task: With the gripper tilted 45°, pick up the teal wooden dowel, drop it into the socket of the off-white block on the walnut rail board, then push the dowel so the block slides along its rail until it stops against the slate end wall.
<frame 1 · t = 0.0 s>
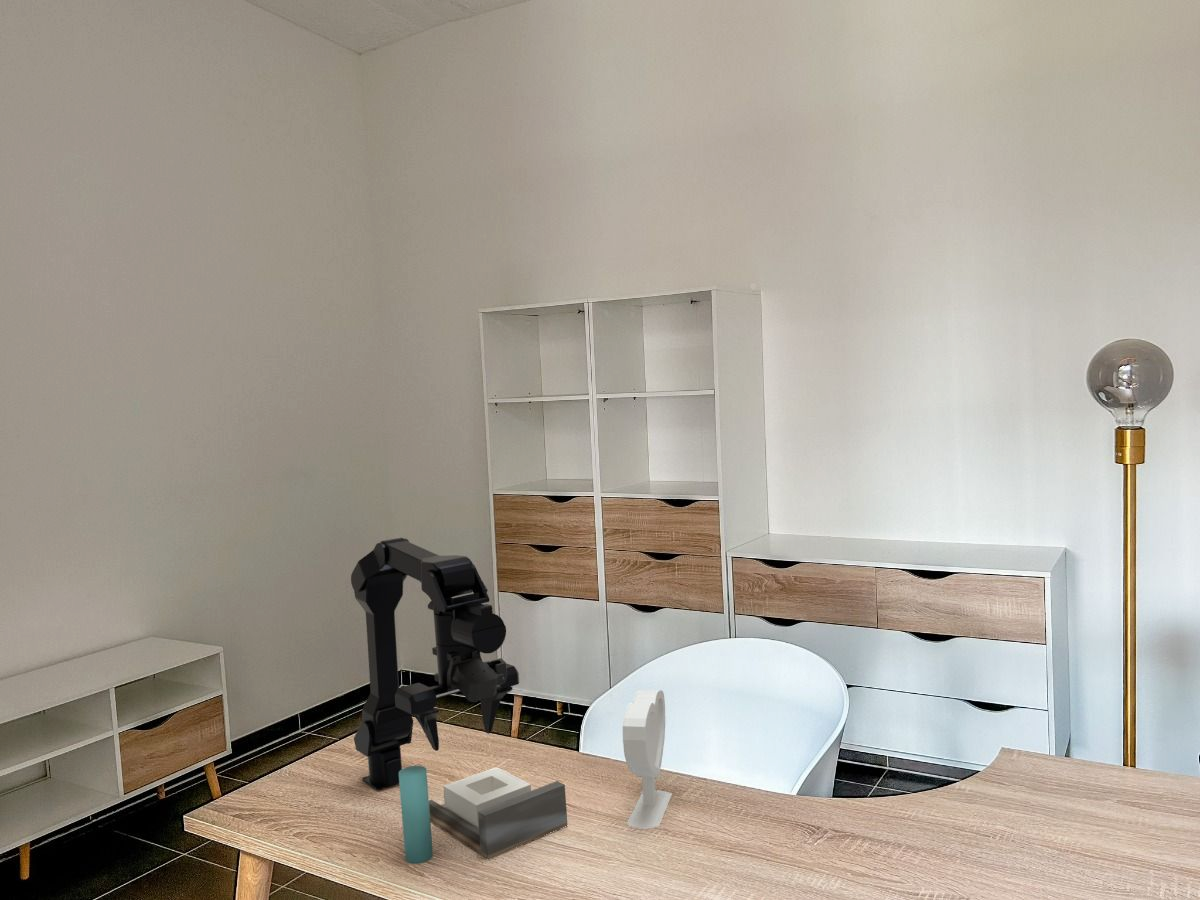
hand: (462, 741, 146), 15 cm above the table, tool pointing down, fingers open, 9 cm apart
dowel: (419, 856, 141), on the table
rail board: (493, 820, 151), on the table
heart sculpture: (650, 809, 152), on the table
socket block: (487, 799, 152), point 3 cm above the table, slide at 0.0 cm
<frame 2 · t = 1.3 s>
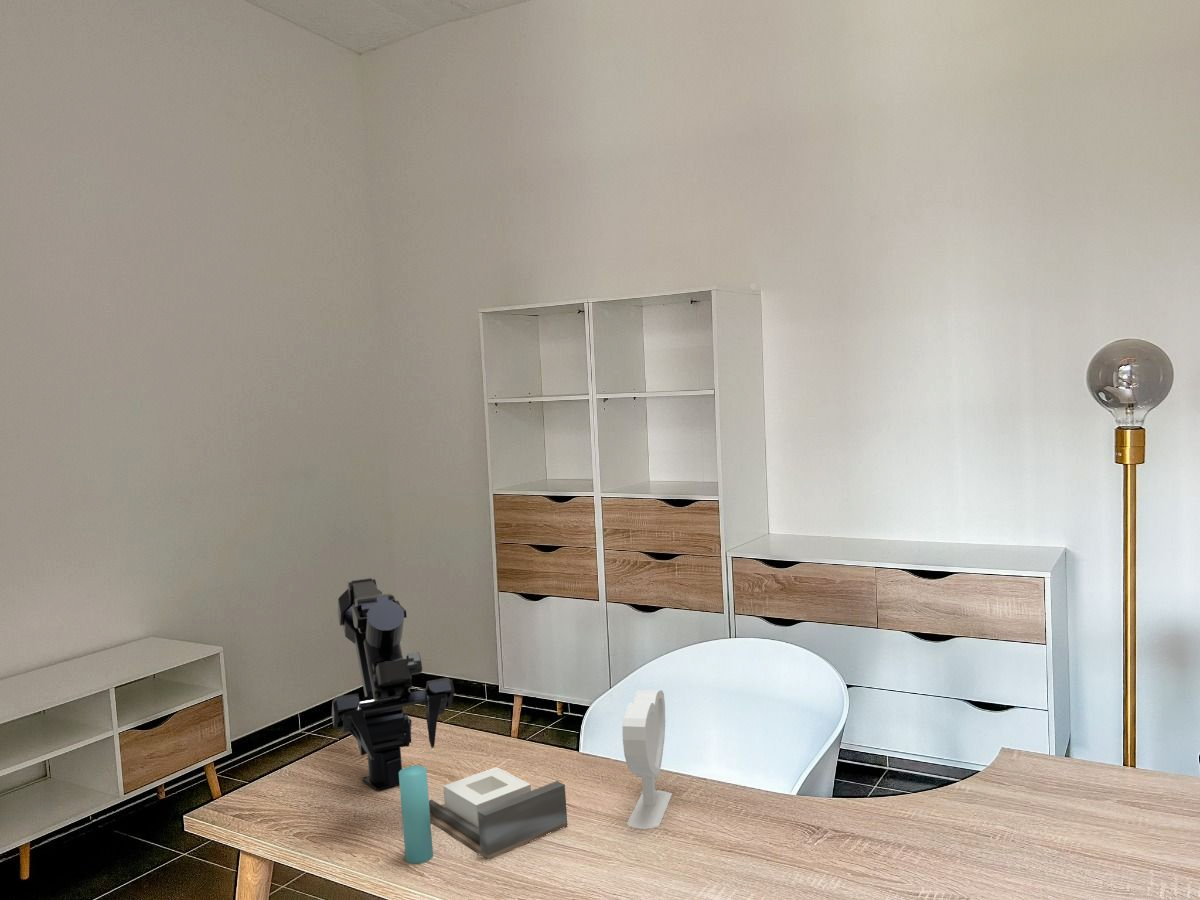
hand: (403, 752, 147), 13 cm above the table, tool tilted 45°, fingers open, 9 cm apart
nothing on the table moved.
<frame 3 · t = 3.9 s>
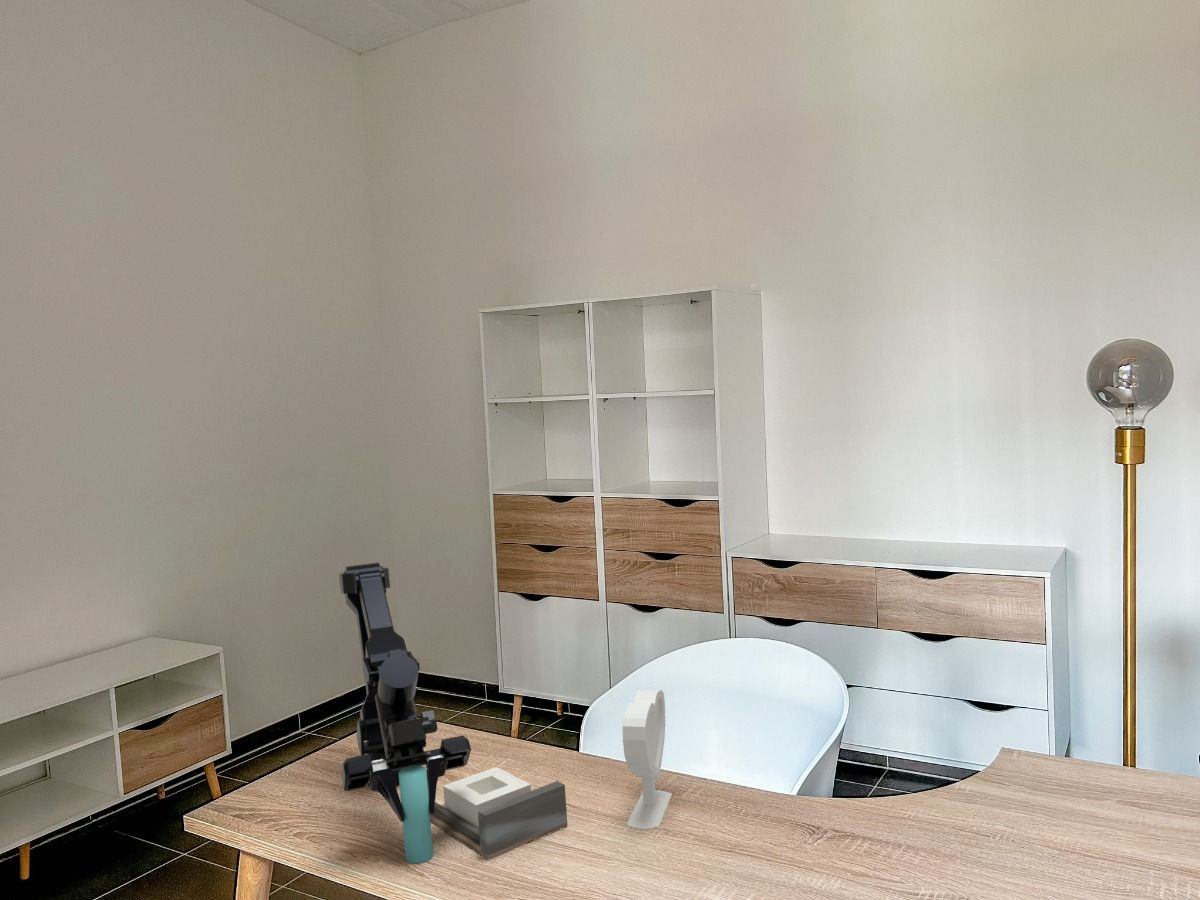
hand: (417, 817, 140), 7 cm above the table, tool tilted 45°, fingers closed on dowel, 4 cm apart
dowel: (419, 856, 141), on the table, touching gripper
everything else where it was.
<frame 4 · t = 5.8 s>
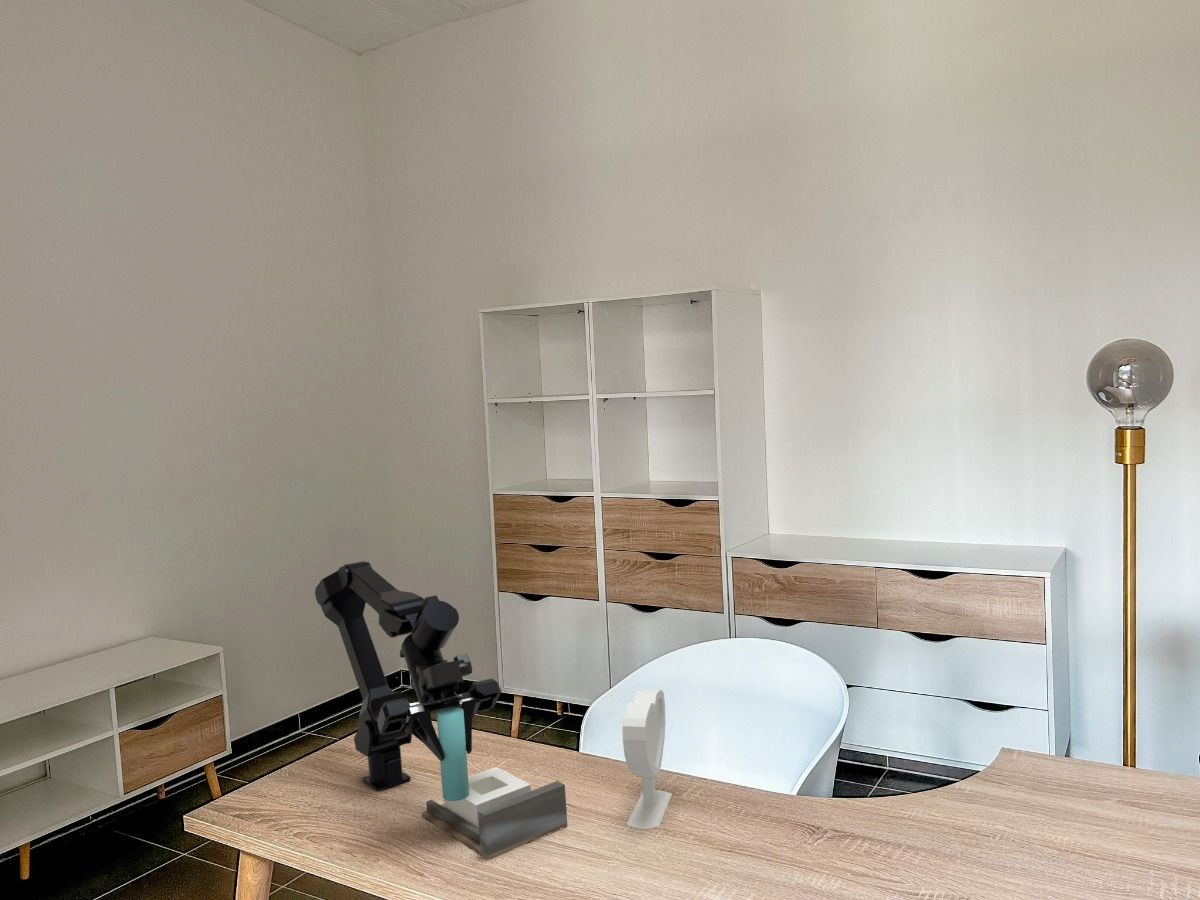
hand: (456, 756, 144), 13 cm above the table, tool tilted 45°, fingers closed on dowel, 4 cm apart
dowel: (456, 795, 146), point 7 cm above the table, touching gripper
everything else where it was.
when the fingers open (9 cm above the table, at t = 7.6 s): dowel drops 2 cm, resting on socket block.
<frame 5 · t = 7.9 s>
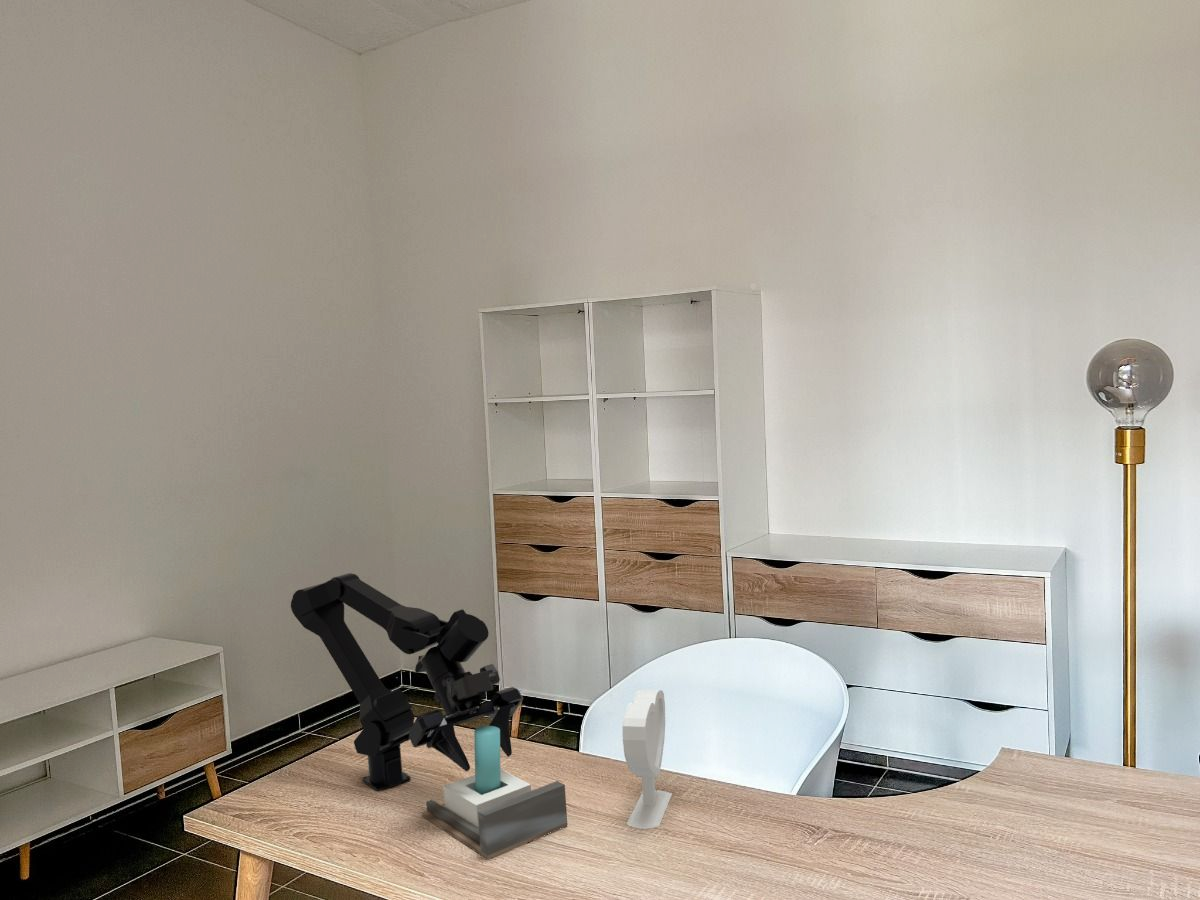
hand: (489, 762, 151), 10 cm above the table, tool tilted 45°, fingers open, 7 cm apart
dowel: (488, 810, 152), point 1 cm above the table, touching socket block
socket block: (487, 799, 152), point 3 cm above the table, slide at 0.0 cm, touching dowel
everything else where it was.
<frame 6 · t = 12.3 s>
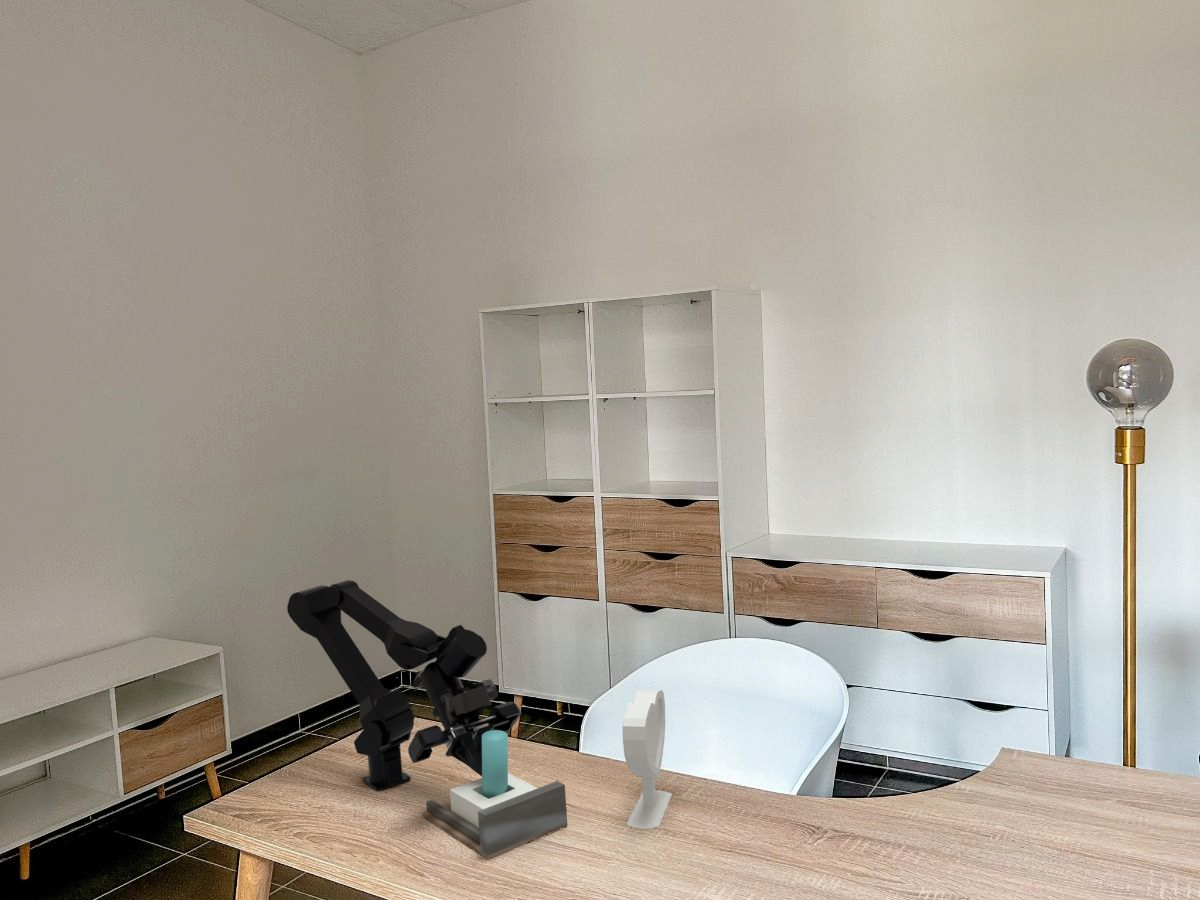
hand: (488, 777, 152), 7 cm above the table, tool tilted 45°, fingers closed, pressing on dowel
dowel: (495, 813, 151), point 1 cm above the table, tilted 7°, touching gripper, socket block
socket block: (494, 803, 151), point 3 cm above the table, slide at 2.0 cm, touching dowel
everything else where it was.
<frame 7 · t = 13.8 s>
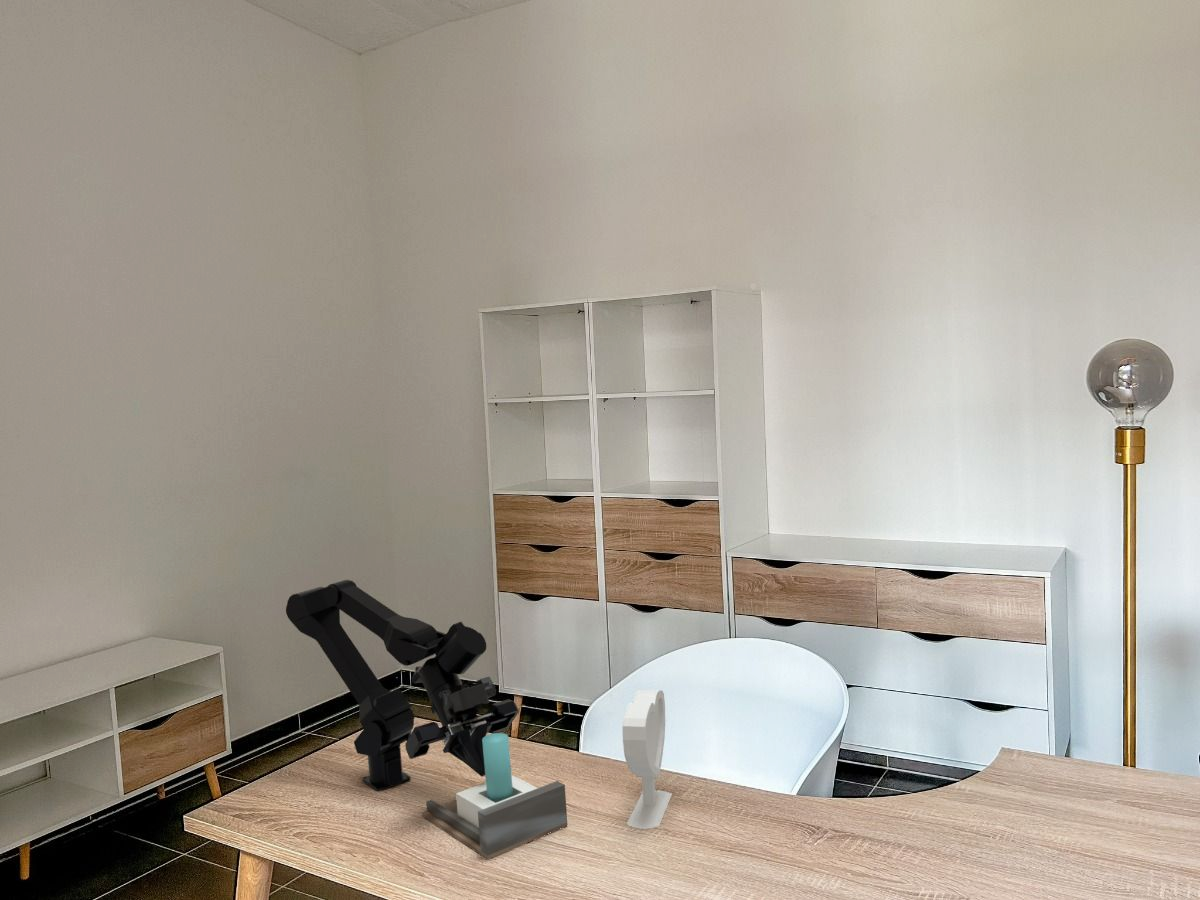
hand: (484, 774, 152), 7 cm above the table, tool tilted 45°, fingers closed
dowel: (502, 818, 149), point 1 cm above the table, touching socket block
socket block: (501, 807, 149), point 3 cm above the table, slide at 4.0 cm, touching dowel
everything else where it was.
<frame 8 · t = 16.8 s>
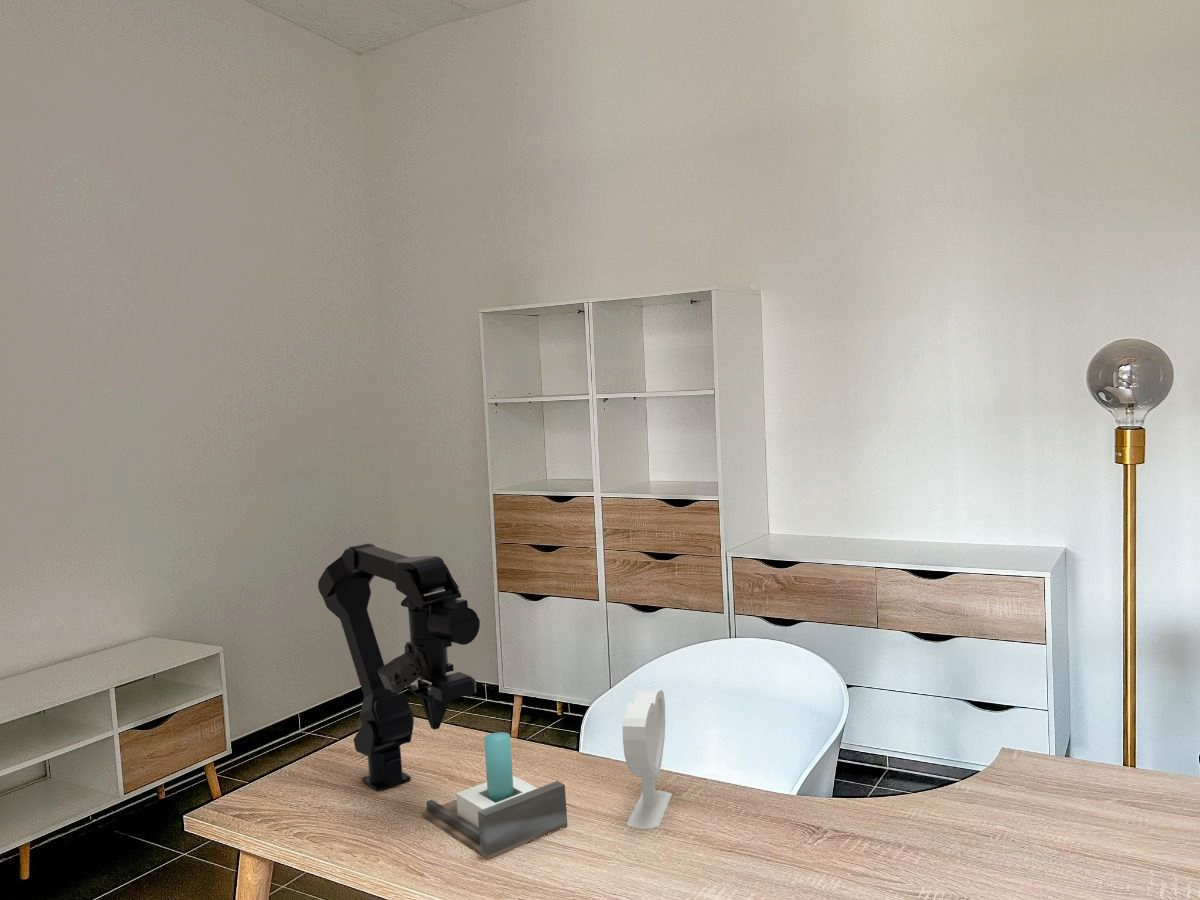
hand: (435, 728, 157), 13 cm above the table, tool pointing down, fingers closed
nothing on the table moved.
at the end: dowel 0.0 cm off-centre on the socket block, point 0.6 cm above the socket block's base; socket block slide at 4.0 cm; dowel tilted 1° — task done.
